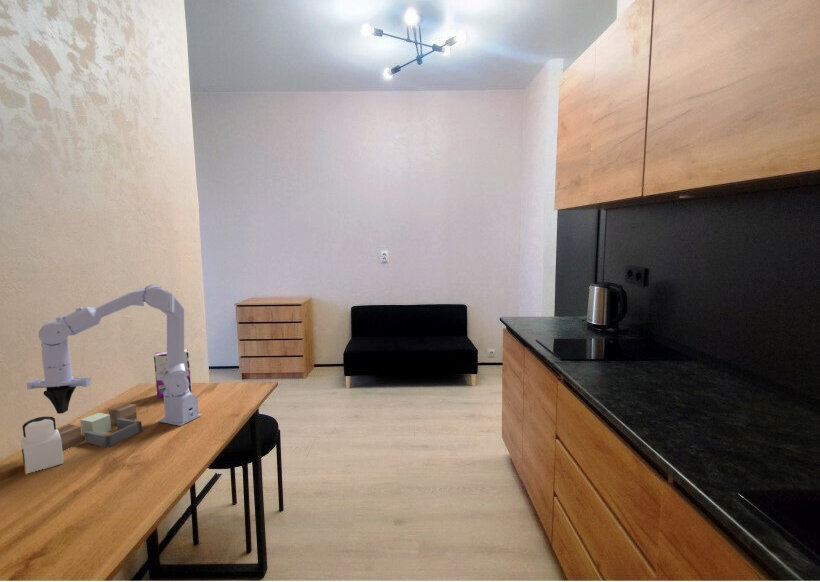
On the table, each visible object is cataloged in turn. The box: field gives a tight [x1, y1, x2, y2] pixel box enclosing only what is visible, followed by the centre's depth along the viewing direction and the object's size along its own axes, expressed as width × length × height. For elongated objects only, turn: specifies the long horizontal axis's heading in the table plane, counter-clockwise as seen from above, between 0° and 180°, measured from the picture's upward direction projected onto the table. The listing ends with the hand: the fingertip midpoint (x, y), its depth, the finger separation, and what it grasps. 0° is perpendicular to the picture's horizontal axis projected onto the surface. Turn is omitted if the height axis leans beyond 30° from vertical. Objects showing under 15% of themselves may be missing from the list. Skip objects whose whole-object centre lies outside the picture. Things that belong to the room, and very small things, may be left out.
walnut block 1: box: [56, 423, 83, 452], centre depth 109 cm, size 5×5×5 cm
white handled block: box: [20, 416, 65, 475], centre depth 99 cm, size 7×7×12 cm
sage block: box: [79, 412, 112, 437], centre depth 117 cm, size 5×5×5 cm
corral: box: [84, 418, 143, 448], centre depth 114 cm, size 9×10×3 cm
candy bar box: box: [153, 348, 193, 399], centre depth 147 cm, size 11×5×16 cm, turn 117°
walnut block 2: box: [108, 402, 138, 426], centre depth 124 cm, size 5×5×5 cm
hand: (62, 412), depth 108 cm, fingers closed
